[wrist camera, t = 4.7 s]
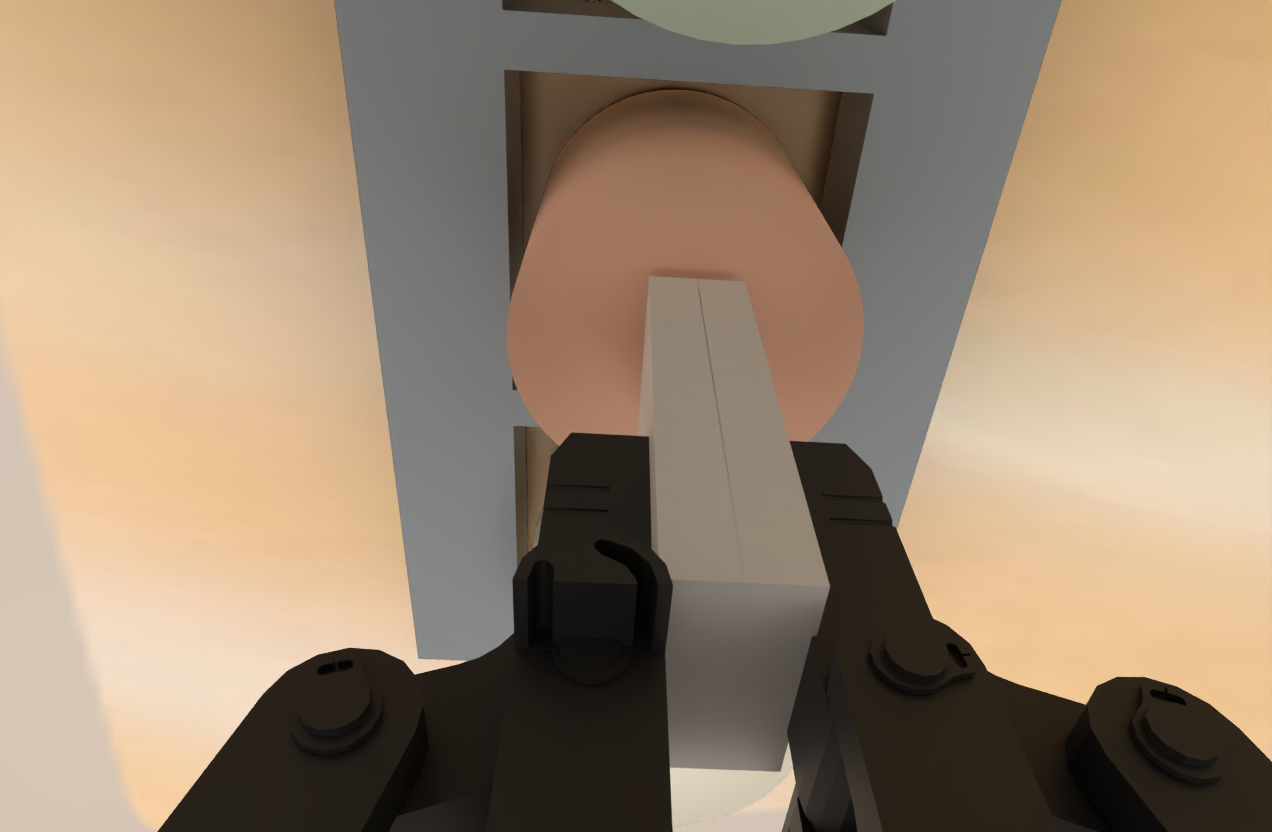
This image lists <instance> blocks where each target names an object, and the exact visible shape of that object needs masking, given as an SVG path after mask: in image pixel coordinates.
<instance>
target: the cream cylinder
mask: <svg viewBox="0 0 1272 832" xmlns="http://www.w3.org/2000/svg"><path fill="white" fill-rule="evenodd" d="M543 507H544V506H543ZM542 514H543V508H542V510H541V513H540V515H539V517H538V521H537V525H536V530H535V536H534V542H533V548H534V547H536V546H537V545H538V540H539V533H540V527H541V520H542ZM792 767H793V764H792V758H791V753H790V747H789V742H788V745H787V749H786V753H785V757H784V760H783V764H782V768H781V771H780V772H773V771H746V770H719V769H691V768H670V782H671V806H672V827H681V826H688V825H693V824H699V823H703V822H707V821H711V820H715V819H718V818H721V817H724V816H727V815H730V814H732V813H735V812H737V811H739V810H742V809H744V808H746V807H748V806H749V805H751V804H753V803H755V802H757V801H758V800H760V799H761V798H763V797H764V796H765V795H767V794H768V793H770V792H771V791H772V790H773V789H774V788H775V787H776V786H778V785H779V784H780V783H781V782H782V780H783V779H784V778H785V777H786V776H787V774H788V773H789V772H790V770H791V768H792Z"/></svg>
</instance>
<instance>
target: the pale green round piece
mask: <svg viewBox="0 0 1272 832" xmlns="http://www.w3.org/2000/svg"><path fill="white" fill-rule="evenodd" d="M612 1H613V2H615V3H616V4H618V5H619V6H621V7H623V8H624V9H626V10H627V11H629V12H630V13H632V14H634V15H635V16H637V17H639V18H642V19H644V20H646V21H648V22H650V23H653V24H655V25H657V26H659V27H661V28H664V29H666V30H668V31H672V32H675V33H679V34H682V35H685V36H689V37H692V38H696V39H699V40H705V41H712V42H719V43H726V44H733V45H769V44H776V43H783V42H790V41H796V40H803V39H807V38H810V37H814V36H817V35H821V34H824V33H828V32H831V31H834V30H838V29H840V28H843V27H845V26H847V25H849V24H852V23H854V22H856V21H859V20H861V19H863V18H865V17H868V16H870V15H872V14H874V13H876V12H877V11H879V10H881V9H882V8H884V7H886V6H887V5H889V4H891V3H892V2H894V1H896V0H612Z"/></svg>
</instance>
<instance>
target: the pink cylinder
mask: <svg viewBox="0 0 1272 832" xmlns="http://www.w3.org/2000/svg"><path fill="white" fill-rule="evenodd" d="M649 276H657V277H674V278H692V279H709V280H727V281H744V282H745V284H746V288H747V291H748V295H749V298H750V302H751V305H752V309H753V313H754V316H755V320H756V323H757V327H758V330H759V334H760V338H761V341H762V345H763V348H764V352H765V355H766V359H767V363H768V366H769V370H770V373H771V377H772V381H773V384H774V388H775V391H776V395H777V398H778V402H779V406H780V409H781V413H782V416H783V420H784V423H785V427H786V431H787V434H788V438H789V441H804V442H808V441H809V440H810V439H811V438H813V437H814V436H815V435H816V434H817V433H818V432H819V431H820V430H821V429H822V428H823V426H824V425H825V424H826V423H827V422H828V420H829V419H830V418H831V417H832V416H833V414H834V413H835V411H836V410H837V408H838V407H839V405H840V404H841V402H842V401H843V399H844V397H845V396H846V393H847V391H848V389H849V387H850V385H851V383H852V381H853V379H854V376H855V373H856V370H857V366H858V363H859V360H860V356H861V350H862V344H863V338H864V313H863V306H862V298H861V293H860V290H859V286H858V283H857V279H856V276H855V273H854V271H853V269H852V267H851V265H850V263H849V260H848V258H847V256H846V254H845V252H844V251H843V249H842V247H841V246H840V244H839V242H838V241H837V239H836V237H835V236H834V234H833V232H832V230H831V229H830V227H829V225H828V224H827V222H826V220H825V219H824V217H823V215H822V214H821V212H820V210H819V209H818V207H817V205H816V203H815V202H814V200H813V198H812V197H811V195H810V193H809V192H808V190H807V188H806V187H805V185H804V183H803V182H802V180H801V178H800V176H799V175H798V173H797V171H796V170H795V168H794V166H793V165H792V163H791V161H790V160H789V158H788V156H787V155H786V153H785V151H784V150H783V148H782V147H781V145H780V144H779V142H778V141H777V139H776V138H775V137H774V136H773V135H772V133H771V132H770V131H769V130H768V129H767V128H766V127H765V126H764V125H763V124H762V123H761V122H760V121H759V120H757V119H756V118H755V117H754V116H753V115H751V114H750V113H748V112H747V111H745V110H744V109H742V108H740V107H739V106H737V105H736V104H733V103H731V102H729V101H727V100H724V99H722V98H720V97H717V96H713V95H710V94H706V93H703V92H696V91H689V90H659V91H653V92H646V93H642V94H639V95H635V96H632V97H629V98H626V99H624V100H622V101H619V102H617V103H615V104H613V105H611V106H609V107H607V108H606V109H604V110H603V111H601V112H599V113H598V114H596V115H595V116H594V117H592V118H591V119H590V120H589V121H588V122H586V123H585V124H584V125H583V126H582V127H581V128H580V129H579V130H578V131H577V132H576V133H575V134H574V135H573V136H572V137H571V139H570V140H569V141H568V143H567V144H566V145H565V147H564V148H563V150H562V151H561V153H560V154H559V156H558V158H557V160H556V162H555V164H554V166H553V168H552V170H551V173H550V175H549V178H548V181H547V184H546V187H545V190H544V193H543V197H542V200H541V203H540V206H539V210H538V213H537V216H536V219H535V222H534V226H533V229H532V232H531V235H530V239H529V242H528V245H527V248H526V252H525V255H524V258H523V261H522V264H521V268H520V271H519V274H518V277H517V281H516V284H515V287H514V290H513V294H512V297H511V302H510V307H509V312H508V317H507V336H506V341H507V351H508V360H509V364H510V368H511V372H512V376H513V380H514V382H515V385H516V387H517V389H518V392H519V394H520V397H521V399H522V401H523V402H524V404H525V406H526V407H527V409H528V411H529V413H530V414H531V416H532V417H533V418H534V420H535V421H536V422H537V424H538V425H539V426H540V427H541V429H542V430H543V431H544V432H545V433H546V434H547V435H548V436H549V437H550V438H551V439H552V440H553V441H554V442H555V443H556V444H557V445H558V446H560V445H561V444H562V443H563V441H564V440H565V439H566V438H567V437H568V436H569V434H570V433H571V432H572V433H592V434H612V435H632V436H638V417H639V404H640V390H641V377H642V364H643V350H644V337H645V324H646V310H647V297H648V284H649Z"/></svg>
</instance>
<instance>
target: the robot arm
mask: <svg viewBox="0 0 1272 832" xmlns="http://www.w3.org/2000/svg"><path fill="white" fill-rule="evenodd" d="M892 522H893V520H892V518H891V515H890V513H889V510H888V508H887V505H886V503H883V496H882V493H881V491H880V488H879V486H878V483H877V481H876V478H875V476H874V474H873V471H872V469H871V468H870V467H869V466H868V465H867V464H866V463H865V462H864V461H863V460H862V459H861V458H860V457H859V456H858V455H857V454H856V453H855V452H854V451H853V450H852V449H851V448H850V447H849V446H848V445H847V444H843V443H823V442H804V441H789V438H788V434H787V431H786V427H785V423H784V420H783V416H782V413H781V409H780V406H779V402H778V398H777V395H776V391H775V388H774V384H773V381H772V377H771V373H770V370H769V366H768V363H767V359H766V355H765V352H764V348H763V345H762V341H761V338H760V334H759V330H758V327H757V323H756V320H755V316H754V313H753V309H752V305H751V302H750V298H749V295H748V291H747V288H746V284H745V282H744V281H727V280H709V279H692V278H674V277H657V276H649V284H648V297H647V310H646V324H645V337H644V350H643V364H642V377H641V390H640V404H639V417H638V436H632V435H612V434H592V433H572V432H571V433H570V434H569V436H568V437H567V438H566V439H565V440H564V441H563V443H562V444H561V445H560V446H559V447H558V448H557V450H556V451H555V452H554V453H553V454H552V455H551V461H550V467H549V474H548V480H547V489H546V494H545V500H544V507H543V514H542V520H541V527H540V533H539V540H538V545H537V546H536V547H534V548H533V549H532V550H531V551H530V552H528V553H527V554H526V555H525V556H524V557H523V558H522V559H521V561H520V564H519V566H518V568H517V570H516V572H515V574H514V577H513V579H512V585H513V616H514V633H513V634H512V635H511V636H510V637H509V638H507V639H506V640H505V641H504V642H503V643H502V644H501V645H500V646H498V647H497V648H495V649H493V650H491V651H490V652H488V653H486V654H484V655H483V656H481V657H479V658H476V659H473V660H470V661H467V662H464V663H461V664H458V665H454V666H450V667H445V668H441V669H437V670H433V671H428V672H424V673H420V674H416V675H414V674H413V672H412V671H411V670H410V669H409V667H408V666H407V665H406V664H405V662H404V661H402V660H400V659H398V658H395V657H393V656H391V655H389V654H387V653H385V652H382V651H380V650H372V649H359V648H346V649H342V650H337V651H333V652H328V653H324V654H319V655H316V656H315V657H313V658H311V659H309V660H307V661H305V662H303V663H301V664H299V665H297V666H295V667H294V668H292V669H290V670H288V671H287V672H286V673H285V674H284V675H283V676H281V677H280V678H279V679H278V680H277V681H276V682H275V683H274V684H273V685H272V686H271V687H270V688H269V689H268V690H267V691H266V692H265V693H264V694H263V695H262V696H261V698H260V699H259V700H258V701H257V703H256V704H255V705H254V707H253V708H252V709H251V711H250V712H249V713H248V715H247V716H246V717H245V718H244V720H243V721H242V722H241V724H240V725H239V726H238V728H237V729H236V730H235V731H234V733H233V734H232V735H231V737H230V738H229V739H228V741H227V742H226V743H225V745H224V746H223V747H222V748H221V750H220V751H219V752H218V754H217V755H216V756H215V758H214V759H213V760H212V761H211V763H210V764H209V765H208V767H207V768H206V769H205V771H204V772H203V773H202V774H201V776H200V777H199V778H198V780H197V781H196V782H195V784H194V785H193V786H192V788H191V789H190V790H189V791H188V793H187V794H186V795H185V797H184V798H183V799H182V801H181V802H180V803H179V804H178V806H177V807H176V808H175V810H174V811H173V812H172V814H171V815H170V816H169V817H168V819H167V820H166V821H165V823H164V824H163V825H162V827H161V828H160V829H159V831H158V832H673V830H672V806H671V782H670V768H691V769H719V770H746V771H773V772H780V771H781V768H782V764H783V760H784V757H785V753H786V749H787V745H788V742H789V747H790V753H791V758H792V764H793V769H794V775H795V780H796V784H795V788H794V791H793V795H792V798H791V802H790V805H789V809H788V812H787V815H786V819H785V822H784V826H783V829H782V832H1272V762H1271V761H1270V759H1269V758H1268V757H1267V756H1266V755H1265V754H1264V753H1263V752H1262V751H1261V750H1260V749H1259V748H1258V747H1257V746H1256V745H1255V744H1254V743H1253V742H1252V741H1251V740H1250V739H1249V738H1248V737H1247V736H1246V735H1245V734H1244V733H1243V732H1242V731H1241V730H1240V729H1239V728H1238V727H1237V726H1235V725H1234V724H1233V723H1232V722H1231V721H1229V720H1228V719H1227V718H1226V717H1225V716H1223V715H1222V714H1221V713H1220V712H1218V711H1217V710H1216V709H1215V708H1214V707H1212V706H1211V705H1210V704H1208V703H1206V702H1205V701H1203V700H1201V699H1199V698H1197V697H1195V696H1193V695H1192V694H1190V693H1188V692H1186V691H1184V690H1182V689H1180V688H1179V687H1177V686H1173V685H1170V684H1166V683H1163V682H1159V681H1156V680H1152V679H1149V678H1146V677H1116V678H1114V679H1111V680H1109V681H1107V682H1105V683H1103V684H1100V685H1098V686H1097V687H1096V689H1095V690H1094V692H1093V694H1092V696H1091V697H1090V699H1089V701H1088V703H1087V704H1086V705H1085V704H1081V703H1078V702H1075V701H1071V700H1068V699H1065V698H1062V697H1058V696H1055V695H1052V694H1048V693H1045V692H1042V691H1038V690H1035V689H1032V688H1028V687H1025V686H1022V685H1019V684H1016V683H1013V682H1011V681H1008V680H1006V679H1003V678H1001V677H998V676H995V675H994V674H992V673H990V672H988V671H987V669H986V667H985V665H984V664H983V662H982V661H981V659H980V658H979V656H978V655H977V654H976V652H975V651H974V649H973V648H972V646H971V645H970V644H969V643H968V642H967V641H966V640H965V639H963V638H962V637H961V636H960V635H958V634H957V633H956V632H955V631H953V630H952V629H951V628H950V627H949V626H947V625H945V624H943V623H941V622H939V621H937V620H935V619H933V617H932V615H931V613H930V611H929V608H928V606H927V603H926V601H925V598H924V596H923V593H922V591H921V588H920V586H919V584H918V581H917V579H916V576H915V574H914V571H913V569H912V566H911V564H910V562H909V559H908V557H907V554H906V552H905V549H904V547H903V544H902V542H901V540H900V537H899V535H898V532H897V530H896V527H893V526H892Z"/></svg>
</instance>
